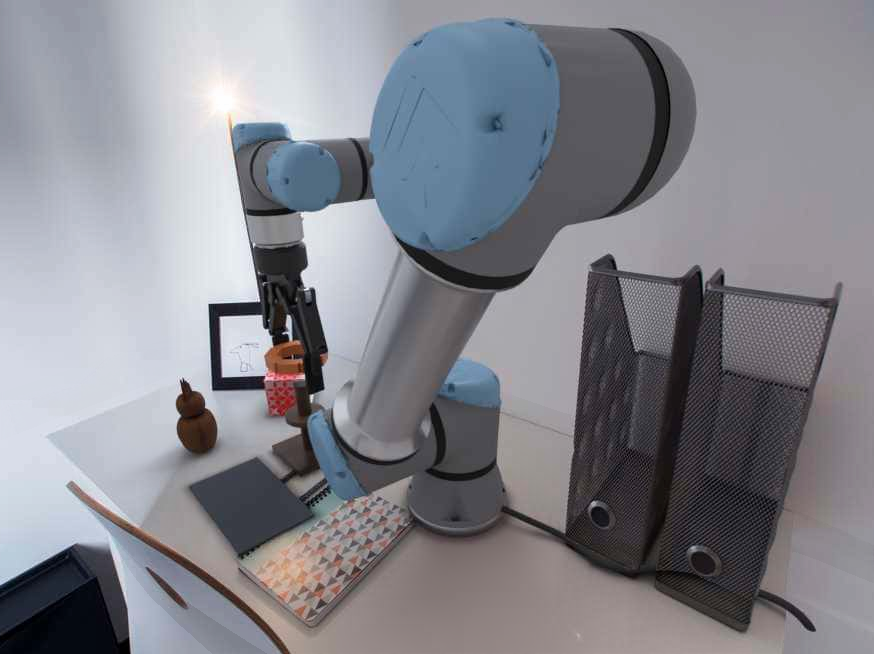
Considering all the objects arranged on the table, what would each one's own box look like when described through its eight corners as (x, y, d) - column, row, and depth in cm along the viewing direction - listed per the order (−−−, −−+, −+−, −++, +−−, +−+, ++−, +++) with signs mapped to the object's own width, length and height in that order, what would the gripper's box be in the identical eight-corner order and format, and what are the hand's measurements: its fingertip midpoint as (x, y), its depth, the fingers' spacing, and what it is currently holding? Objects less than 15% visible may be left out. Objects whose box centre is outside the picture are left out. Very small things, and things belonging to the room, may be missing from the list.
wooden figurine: (207, 460, 93) (186, 385, 86) (177, 457, 94) (155, 382, 87) (226, 439, 99) (208, 367, 92) (198, 436, 100) (179, 365, 93)
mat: (315, 516, 80) (314, 514, 80) (239, 555, 73) (239, 553, 73) (257, 458, 93) (256, 456, 93) (189, 487, 87) (188, 485, 87)
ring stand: (350, 454, 94) (342, 384, 87) (300, 477, 88) (287, 405, 81) (321, 431, 101) (311, 365, 94) (272, 452, 95) (259, 383, 88)
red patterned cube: (277, 396, 113) (270, 363, 109) (314, 394, 113) (309, 361, 110) (270, 416, 106) (263, 381, 102) (309, 413, 107) (304, 378, 103)
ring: (337, 362, 85) (336, 351, 84) (284, 380, 80) (283, 369, 79) (308, 345, 91) (307, 335, 90) (257, 361, 86) (255, 351, 85)
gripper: (342, 250, 71) (357, 397, 82) (268, 228, 86) (289, 354, 97) (292, 260, 67) (314, 413, 78) (223, 236, 82) (250, 367, 93)
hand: (300, 381), depth 87 cm, fingers closed on ring, 9 cm apart
